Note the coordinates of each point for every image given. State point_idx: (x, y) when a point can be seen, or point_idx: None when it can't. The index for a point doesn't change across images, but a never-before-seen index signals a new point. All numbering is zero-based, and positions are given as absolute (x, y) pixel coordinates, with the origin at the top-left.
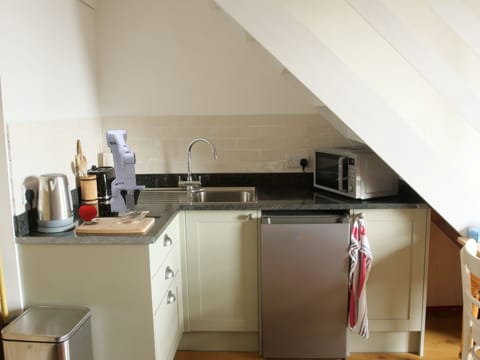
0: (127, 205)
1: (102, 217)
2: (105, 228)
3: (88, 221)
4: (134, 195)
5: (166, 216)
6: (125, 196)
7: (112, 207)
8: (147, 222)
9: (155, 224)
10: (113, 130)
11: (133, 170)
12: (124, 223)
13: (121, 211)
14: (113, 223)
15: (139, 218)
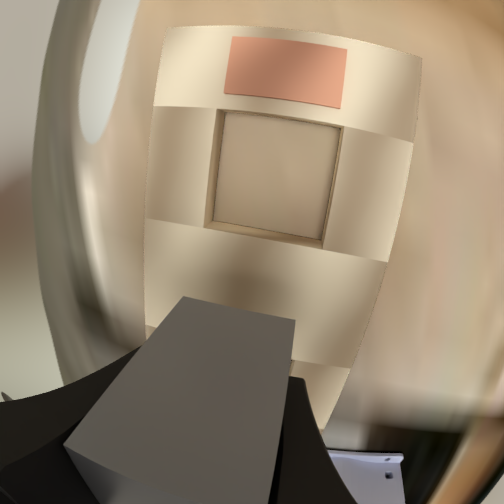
0: (270, 349)
1: (460, 413)
2: (460, 53)
3: None
4: (53, 428)
5: (52, 307)
6: (275, 499)
7: (395, 492)
8: (120, 163)
9: (69, 92)
10: None
11: None
12: (301, 38)
13: (343, 467)
14: (417, 77)
15: (173, 220)
